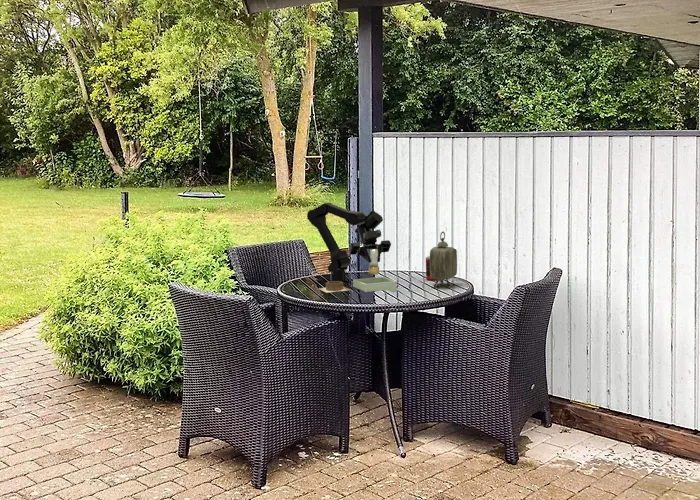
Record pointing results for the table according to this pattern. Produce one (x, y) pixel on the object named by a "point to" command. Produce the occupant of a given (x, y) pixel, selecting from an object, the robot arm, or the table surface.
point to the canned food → (428, 270)
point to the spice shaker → (373, 261)
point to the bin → (375, 284)
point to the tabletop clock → (443, 262)
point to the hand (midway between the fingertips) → (374, 262)
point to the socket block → (334, 287)
